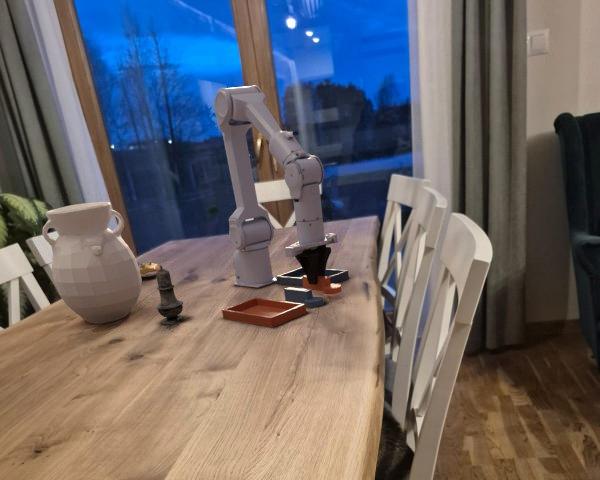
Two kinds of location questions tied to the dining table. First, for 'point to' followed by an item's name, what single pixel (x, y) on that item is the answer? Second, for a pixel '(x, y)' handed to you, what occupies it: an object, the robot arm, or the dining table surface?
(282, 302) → the terracotta tray
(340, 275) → the slate tray
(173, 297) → the salt shaker
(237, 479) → the dining table surface
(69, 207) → the white handled vase
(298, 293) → the dark blue stepped block
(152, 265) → the cake
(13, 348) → the dining table surface
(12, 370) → the dining table surface
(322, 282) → the orange stepped block
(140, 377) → the dining table surface
